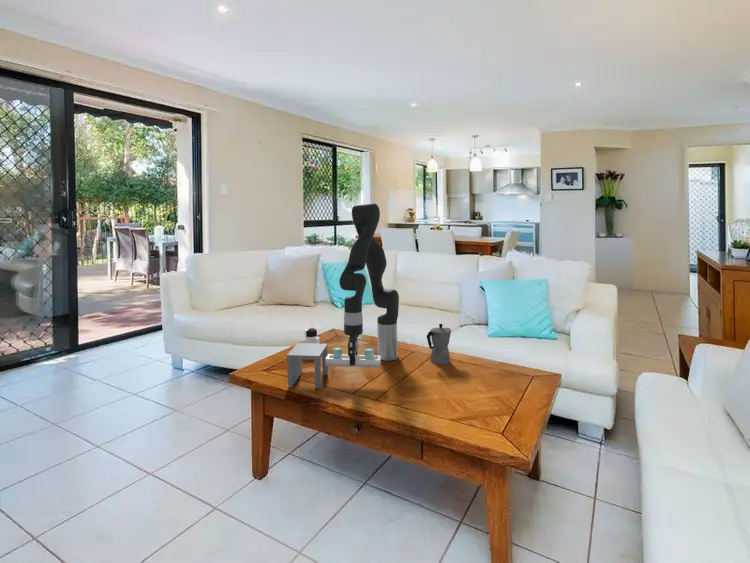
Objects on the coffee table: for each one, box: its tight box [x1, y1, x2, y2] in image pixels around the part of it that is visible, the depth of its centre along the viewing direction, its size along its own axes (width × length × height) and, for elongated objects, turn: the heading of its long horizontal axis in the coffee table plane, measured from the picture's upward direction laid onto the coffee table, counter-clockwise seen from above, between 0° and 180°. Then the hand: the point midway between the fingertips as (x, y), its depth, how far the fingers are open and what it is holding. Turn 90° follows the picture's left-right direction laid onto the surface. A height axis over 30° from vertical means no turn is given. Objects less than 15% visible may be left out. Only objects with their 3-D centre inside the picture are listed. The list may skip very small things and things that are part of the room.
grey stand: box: [286, 342, 329, 389], centre depth 185 cm, size 13×16×14 cm
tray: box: [325, 347, 382, 369], centre depth 182 cm, size 22×6×6 cm, turn 84°
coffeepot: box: [426, 323, 452, 366], centre depth 206 cm, size 15×9×18 cm, turn 129°
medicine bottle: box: [301, 327, 321, 344], centre depth 221 cm, size 7×7×12 cm
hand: (353, 362), depth 183 cm, fingers closed on tray, 6 cm apart
